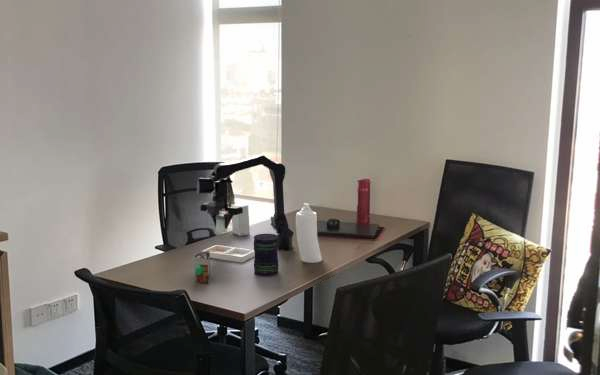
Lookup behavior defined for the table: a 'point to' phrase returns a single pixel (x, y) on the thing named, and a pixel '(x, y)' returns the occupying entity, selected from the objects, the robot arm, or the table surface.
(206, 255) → the food container
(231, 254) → the sorting tray
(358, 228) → the table surface
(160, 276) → the table surface
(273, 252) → the storage jar
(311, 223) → the white plastic bottle
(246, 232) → the skincare box
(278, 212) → the robot arm
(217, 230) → the grey mushroom
